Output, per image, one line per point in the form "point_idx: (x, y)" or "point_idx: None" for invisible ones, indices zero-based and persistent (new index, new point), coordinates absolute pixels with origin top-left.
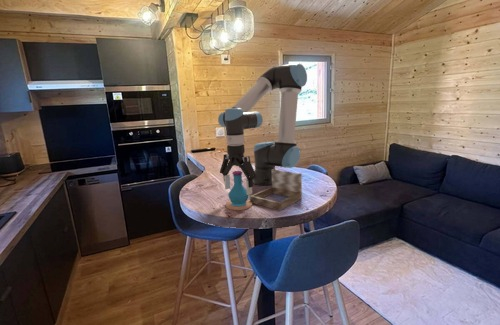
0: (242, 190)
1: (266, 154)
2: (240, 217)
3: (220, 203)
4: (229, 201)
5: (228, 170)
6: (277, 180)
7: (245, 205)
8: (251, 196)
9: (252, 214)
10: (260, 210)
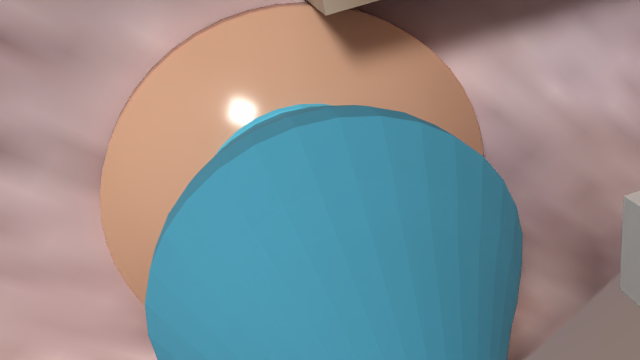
0: (510, 333)
1: None
2: (572, 309)
3: (69, 352)
4: (133, 274)
5: None
6: None
7: None
8: (363, 2)
9: (620, 192)
10: (626, 60)
